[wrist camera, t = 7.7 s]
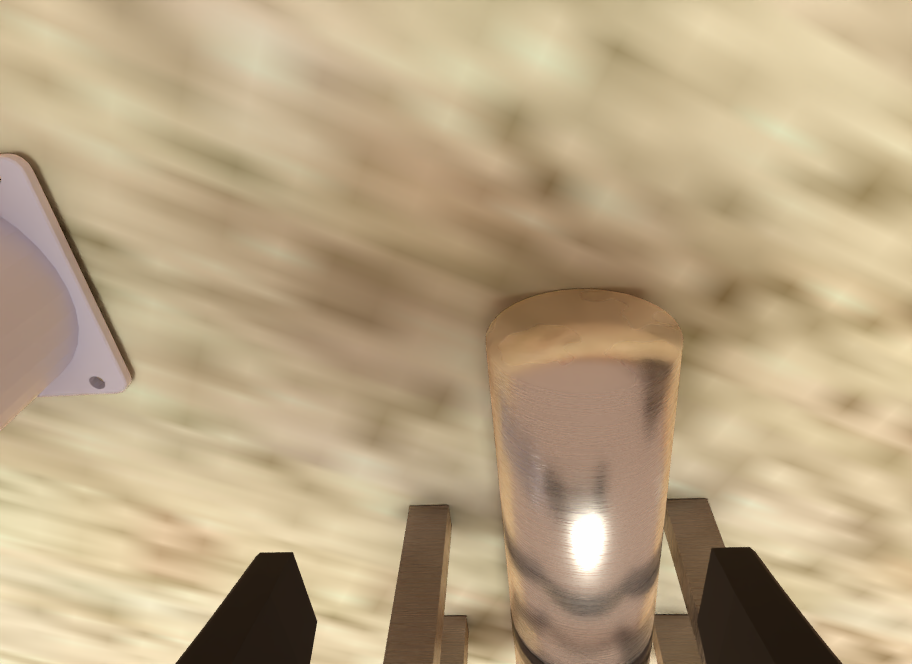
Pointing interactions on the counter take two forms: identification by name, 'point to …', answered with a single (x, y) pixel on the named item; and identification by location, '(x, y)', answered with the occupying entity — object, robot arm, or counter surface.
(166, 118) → the counter surface
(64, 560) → the counter surface
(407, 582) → the collar
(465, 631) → the collar
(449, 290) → the counter surface
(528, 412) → the tube
